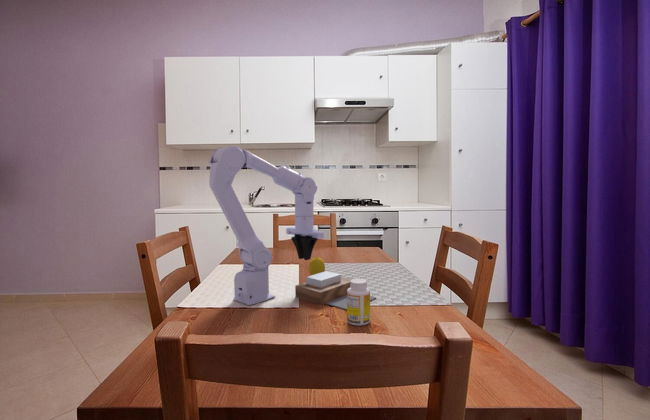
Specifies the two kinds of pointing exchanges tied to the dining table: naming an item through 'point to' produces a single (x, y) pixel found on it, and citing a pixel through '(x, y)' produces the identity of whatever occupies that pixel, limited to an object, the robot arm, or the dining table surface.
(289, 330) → the dining table surface
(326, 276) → the light grey block
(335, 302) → the mat
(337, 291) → the block
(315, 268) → the lemon
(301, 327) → the dining table surface
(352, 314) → the supplement bottle
